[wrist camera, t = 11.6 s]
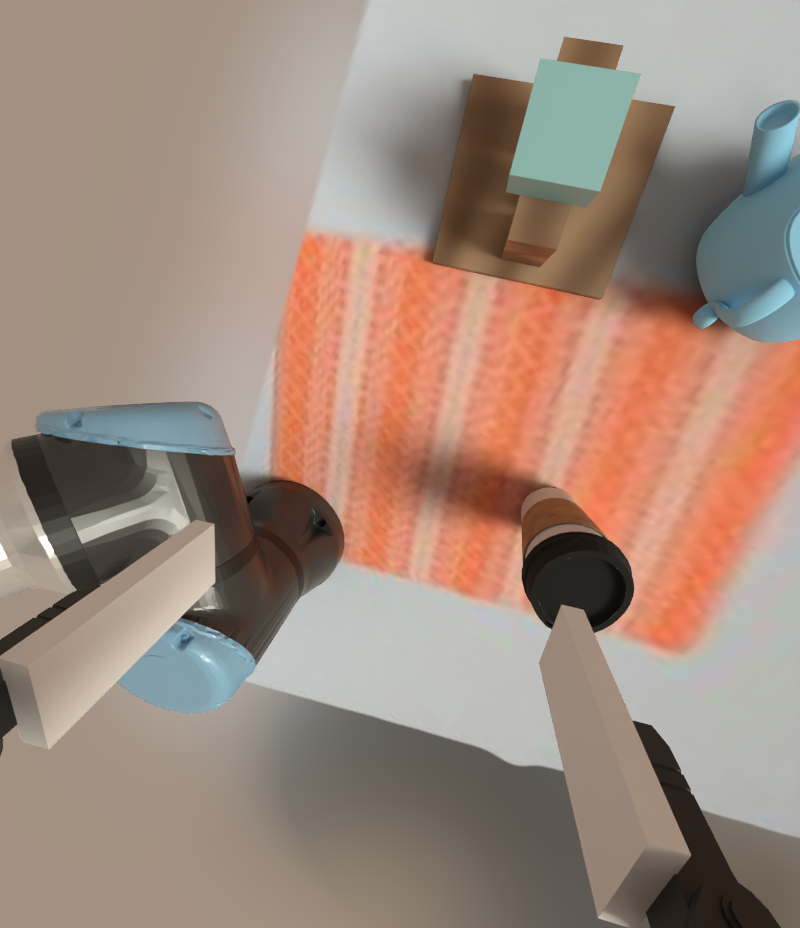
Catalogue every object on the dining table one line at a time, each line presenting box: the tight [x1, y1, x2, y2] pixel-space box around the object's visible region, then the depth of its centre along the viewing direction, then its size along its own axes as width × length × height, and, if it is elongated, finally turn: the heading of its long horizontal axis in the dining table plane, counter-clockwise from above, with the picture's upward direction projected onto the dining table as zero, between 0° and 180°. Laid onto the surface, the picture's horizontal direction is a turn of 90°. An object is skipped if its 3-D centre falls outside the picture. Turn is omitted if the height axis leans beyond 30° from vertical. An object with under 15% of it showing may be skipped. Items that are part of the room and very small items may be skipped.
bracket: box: [432, 37, 675, 299], centre depth 29 cm, size 16×14×9 cm
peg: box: [506, 58, 641, 207], centre depth 27 cm, size 6×6×10 cm
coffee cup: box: [521, 487, 634, 633], centre depth 36 cm, size 8×8×15 cm
